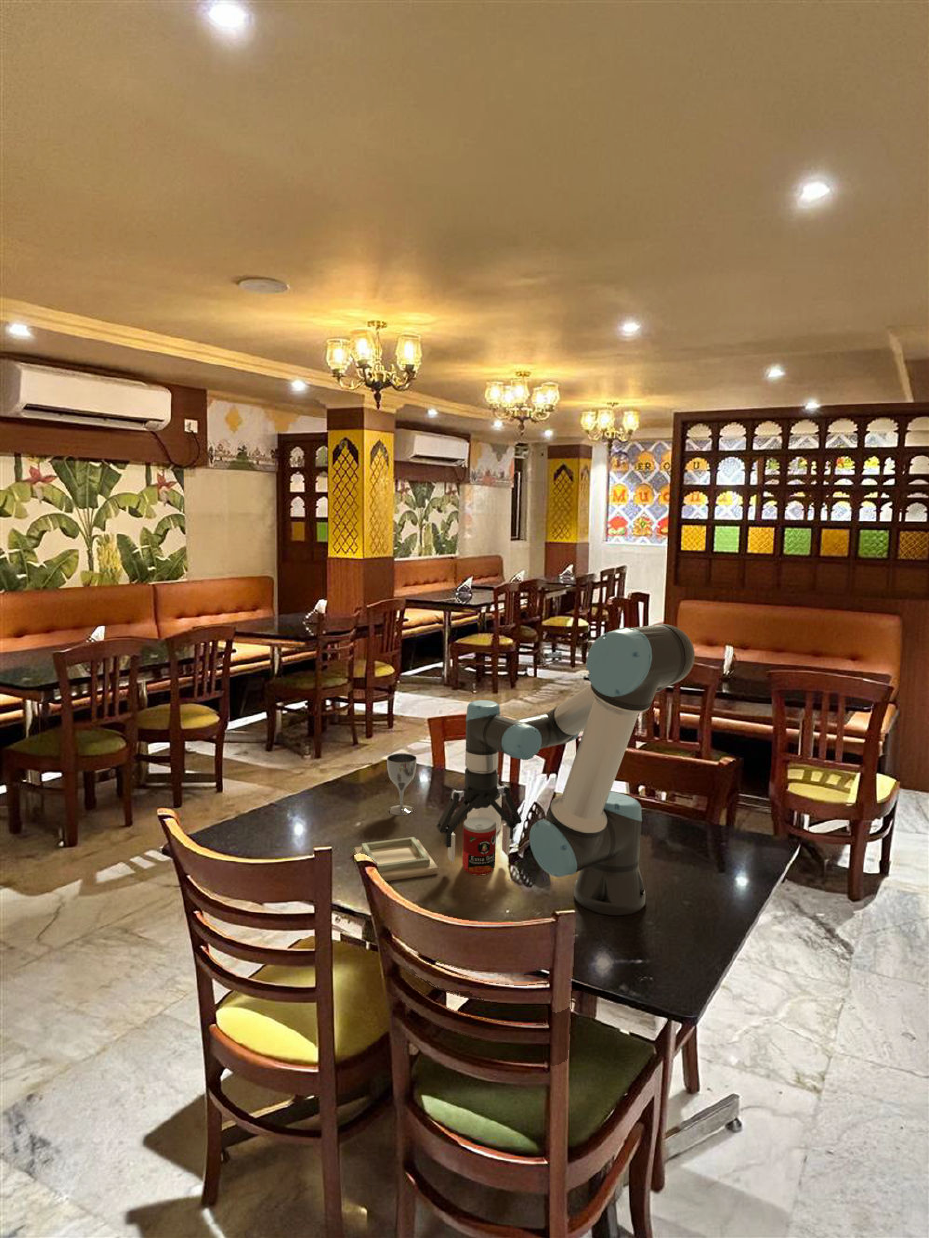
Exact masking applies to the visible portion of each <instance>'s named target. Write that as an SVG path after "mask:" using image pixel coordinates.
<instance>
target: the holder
mask: <svg viewBox="0 0 929 1238" xmlns="http://www.w3.org/2000/svg"><path fill="white" fill-rule="evenodd" d="M353 852H354V853H353V854H354V855H355V853H356V854H359V853H361V854H365V855H367V856H369V857H371V858H372V859H373V860H374V861H375V862H376V863H377V866H378V871H379V873H380V874H381V875H382V877H383V878H384V879H385V880H386V881H385V882H389V881H395V880H403V879H410V878H415V877H416V878H417V877H418V878H419V877H423V876H432V875H438V874H439V866H438V865H437V864H436V863H435V861H434V859H433V858H432V857H431V856H430V854H429V852H428V851H427V849H425V847H424V845H423V844H422V843H421V841H420V840H419V839H416V837H415V836H409V837H402V838H395V839H387V840H378V841H371V842H370V841H369V842H363V843H361V846H355V847H354V850H353Z"/></svg>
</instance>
